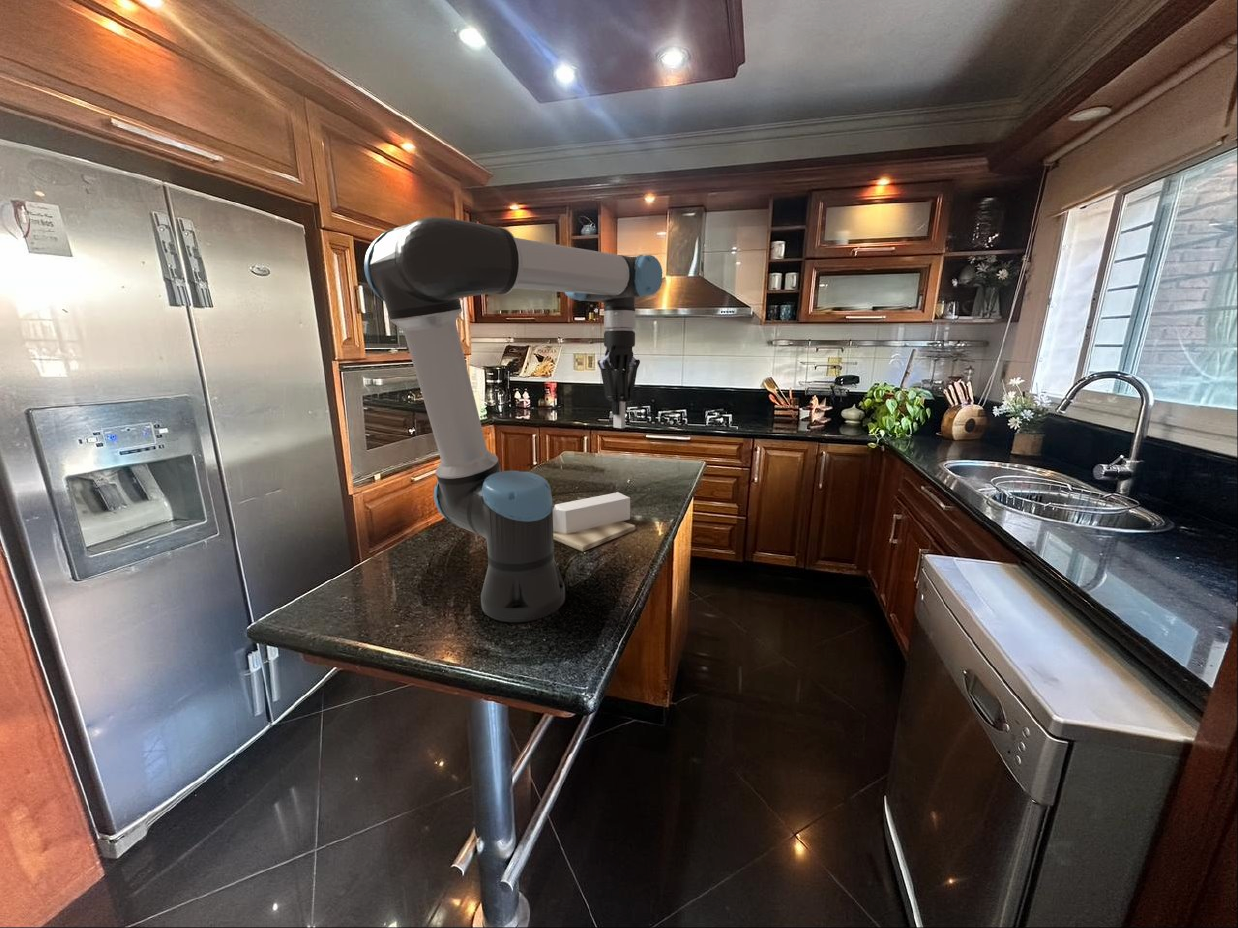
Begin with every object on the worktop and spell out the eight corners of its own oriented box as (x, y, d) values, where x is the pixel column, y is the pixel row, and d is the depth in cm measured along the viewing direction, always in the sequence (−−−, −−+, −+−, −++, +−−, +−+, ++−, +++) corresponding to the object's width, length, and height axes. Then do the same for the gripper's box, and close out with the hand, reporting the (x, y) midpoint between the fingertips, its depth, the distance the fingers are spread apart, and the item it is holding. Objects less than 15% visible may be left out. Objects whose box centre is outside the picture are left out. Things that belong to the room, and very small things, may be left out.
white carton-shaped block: (618, 512, 131) (543, 529, 119) (618, 491, 129) (542, 506, 118) (630, 519, 126) (554, 537, 114) (630, 497, 124) (553, 513, 113)
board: (582, 551, 109) (582, 546, 109) (549, 537, 117) (549, 533, 117) (635, 529, 122) (635, 525, 122) (601, 518, 130) (601, 514, 130)
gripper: (626, 331, 122) (625, 423, 127) (588, 329, 113) (590, 428, 118) (649, 330, 117) (647, 426, 122) (611, 328, 108) (611, 432, 113)
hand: (619, 427), depth 120 cm, fingers closed
